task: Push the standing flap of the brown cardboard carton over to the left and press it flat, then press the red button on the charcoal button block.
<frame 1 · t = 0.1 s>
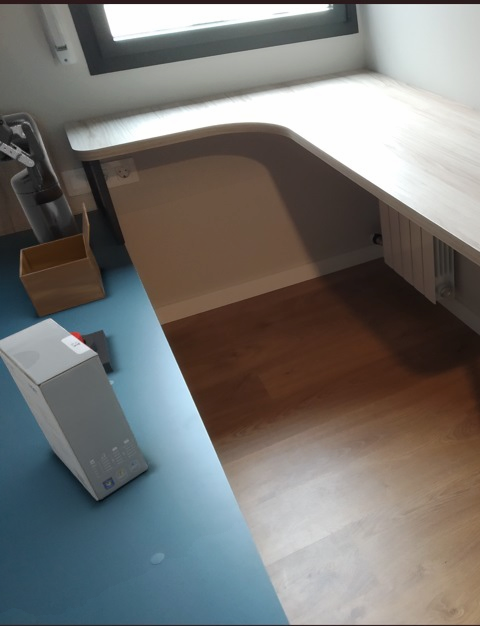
hand: (9, 194, 101), 29 cm above the table, tool pointing down, fingers open, 8 cm apart
button block: (80, 364, 110), on the table
button: (70, 343, 107), point 5 cm above the table, slide at 0.1 cm
hard drive box: (100, 461, 89), on the table
carton: (71, 292, 133), on the table
flap: (85, 227, 129), point 13 cm above the table, hinge at 110.0°
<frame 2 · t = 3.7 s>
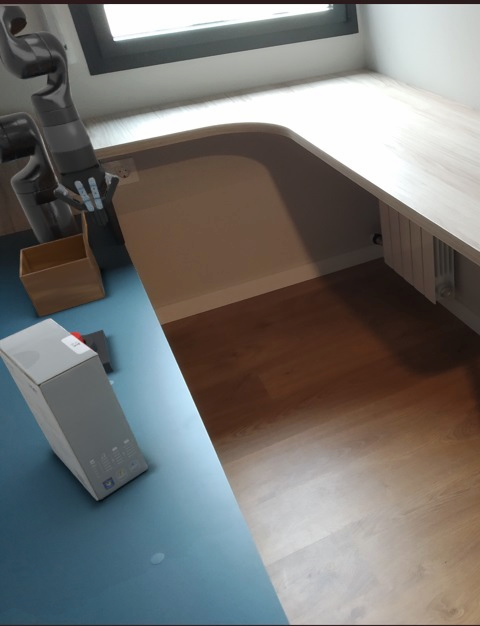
hand: (102, 225, 130), 13 cm above the table, tool pointing down, fingers closed
flap: (84, 227, 129), point 13 cm above the table, hinge at 105.8°, touching gripper
everything else where it was.
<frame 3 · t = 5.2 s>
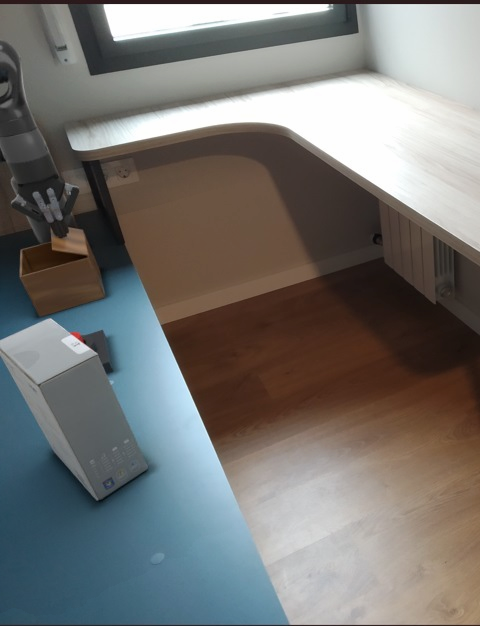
hand: (63, 236, 128), 12 cm above the table, tool pointing down, fingers closed
flap: (68, 239, 128), point 12 cm above the table, hinge at 29.3°, touching gripper
everything else where it was.
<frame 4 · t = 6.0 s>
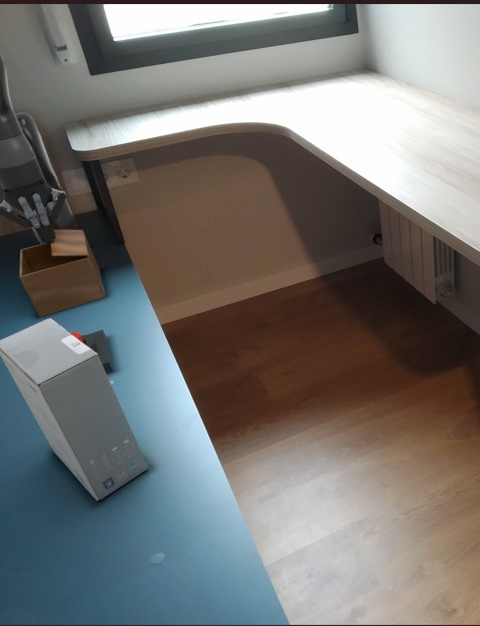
hand: (50, 241, 127), 12 cm above the table, tool pointing down, fingers closed
flap: (68, 242, 129), point 11 cm above the table, hinge at 17.8°, touching gripper
everything else where it was.
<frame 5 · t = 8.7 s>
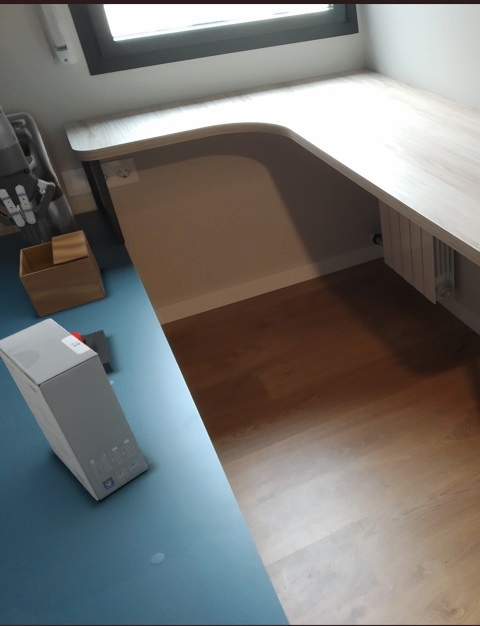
hand: (37, 243, 108), 20 cm above the table, tool pointing down, fingers closed
flap: (69, 246, 129), point 10 cm above the table, hinge at 1.2°
everything else where it was.
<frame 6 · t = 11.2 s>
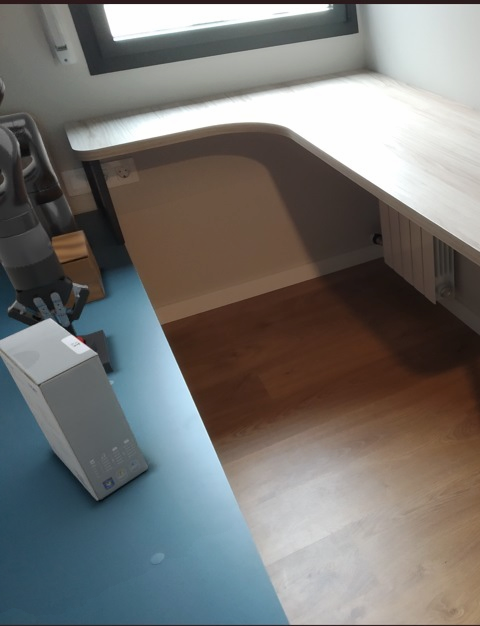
hand: (70, 343, 107), 5 cm above the table, tool pointing down, fingers closed
button: (72, 347, 108), point 4 cm above the table, slide at -0.8 cm, touching gripper
everything else where it was.
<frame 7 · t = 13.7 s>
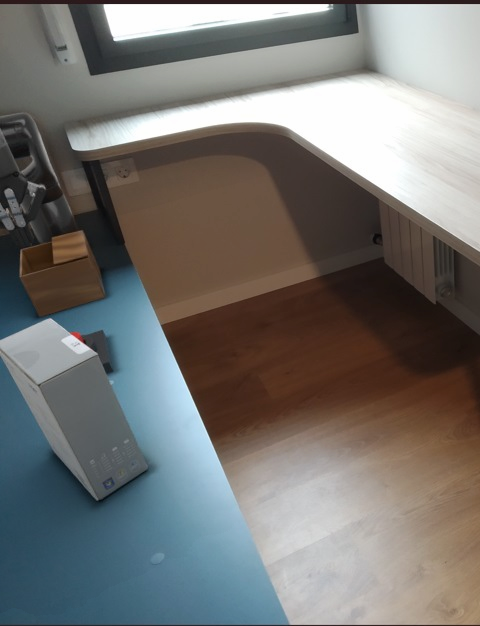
hand: (27, 246, 105), 20 cm above the table, tool pointing down, fingers closed
button: (70, 343, 107), point 5 cm above the table, slide at 0.1 cm
everything else where it was.
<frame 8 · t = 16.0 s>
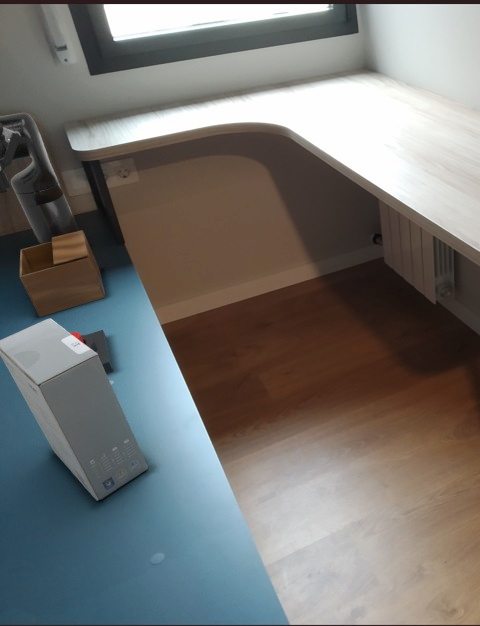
hand: (3, 191, 110), 27 cm above the table, tool pointing down, fingers closed
nothing on the table moved.
at the end: flap at +1° (first picture: +110°); button pushed in 1.1 cm at the most during the clip, back to where it started at the end; button slide at 0.1 cm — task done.
